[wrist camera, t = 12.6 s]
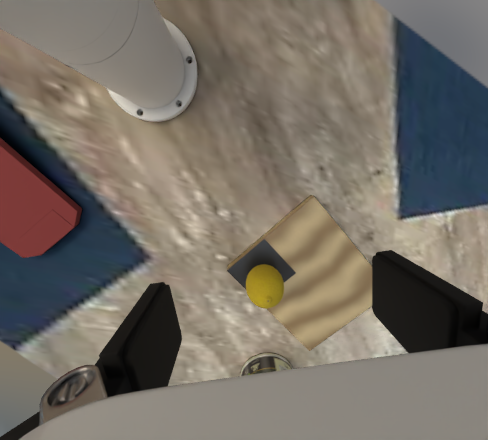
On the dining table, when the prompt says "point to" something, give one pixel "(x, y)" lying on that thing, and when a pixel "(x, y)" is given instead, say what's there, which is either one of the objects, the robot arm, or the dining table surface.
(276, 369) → the coffee can
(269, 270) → the lemon
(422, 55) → the dining table surface
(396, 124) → the dining table surface
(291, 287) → the board
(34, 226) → the red sloped ramp
